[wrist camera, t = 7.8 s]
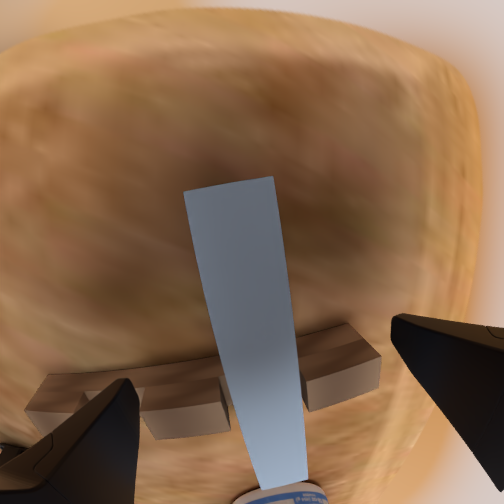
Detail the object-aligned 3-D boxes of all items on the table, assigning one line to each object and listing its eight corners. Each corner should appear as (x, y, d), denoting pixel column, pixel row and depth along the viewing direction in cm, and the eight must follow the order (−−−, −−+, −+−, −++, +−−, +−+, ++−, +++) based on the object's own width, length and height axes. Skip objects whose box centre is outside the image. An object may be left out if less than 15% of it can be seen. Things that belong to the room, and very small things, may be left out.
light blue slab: (279, 404, 17) (308, 479, 11) (244, 412, 17) (261, 490, 11) (243, 181, 14) (273, 176, 8) (194, 190, 14) (183, 191, 7)
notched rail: (348, 323, 16) (381, 356, 13) (348, 352, 17) (378, 387, 13) (47, 374, 14) (24, 410, 10) (61, 399, 15) (42, 436, 11)
